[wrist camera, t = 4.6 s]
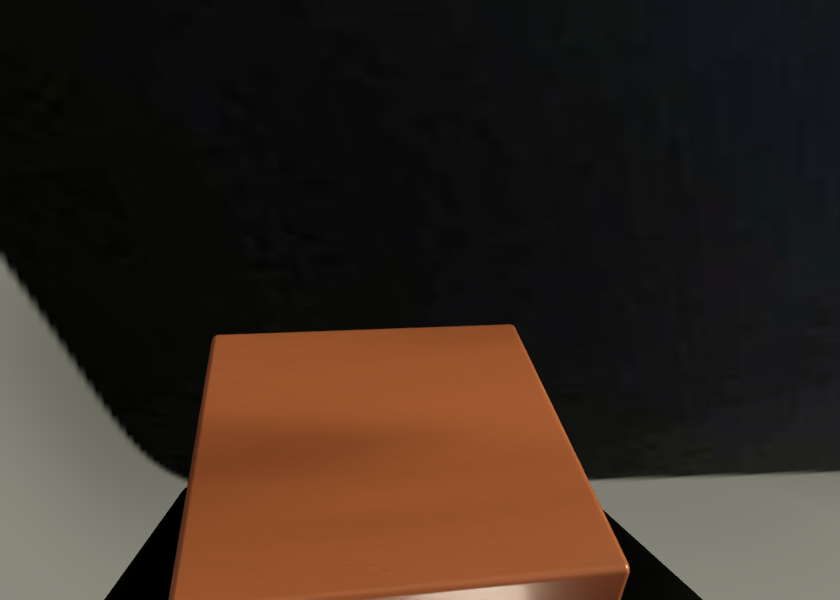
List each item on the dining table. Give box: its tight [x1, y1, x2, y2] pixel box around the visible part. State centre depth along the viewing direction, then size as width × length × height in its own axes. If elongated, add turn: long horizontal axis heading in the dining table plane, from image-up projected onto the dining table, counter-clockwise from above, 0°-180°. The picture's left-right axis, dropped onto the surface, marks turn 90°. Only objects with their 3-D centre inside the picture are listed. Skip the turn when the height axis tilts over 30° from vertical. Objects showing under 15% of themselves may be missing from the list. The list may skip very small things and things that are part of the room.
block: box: [168, 324, 630, 600], centre depth 9 cm, size 4×4×4 cm
